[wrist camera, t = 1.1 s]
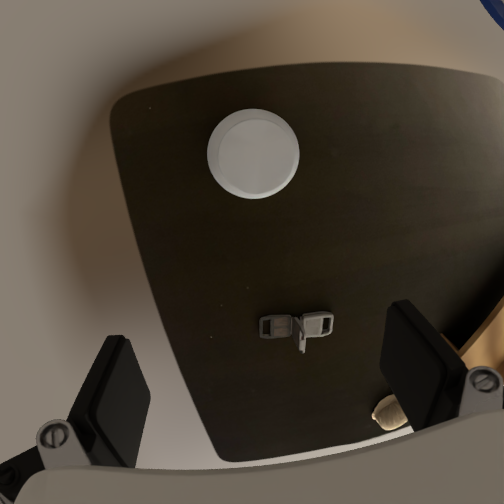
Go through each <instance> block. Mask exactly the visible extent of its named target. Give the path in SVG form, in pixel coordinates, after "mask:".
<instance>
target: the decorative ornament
mask: <svg viewBox="0 0 504 504" xmlns="http://www.w3.org/2000/svg"><path fill="white" fill-rule="evenodd" d="M372 418H373V419H376V421H377V422H378V423H379V425H380V426H381V427H382V428H383V429H385V430H393V429H395V428H398V427H399V426H401V425H403V424H404V423H405V422H407V421H408V419H407V417H406V415H405V414H404V412H403V410H402V408H401V406H400V404H399V403H398V401H397V399H396V397H395V395H394V394H393V395H389V396H386V397H385V398H384V399H382V400H381V401H380V402H379V403H378V405H377V407H375V408H374V411H373V413H372Z"/></svg>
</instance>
